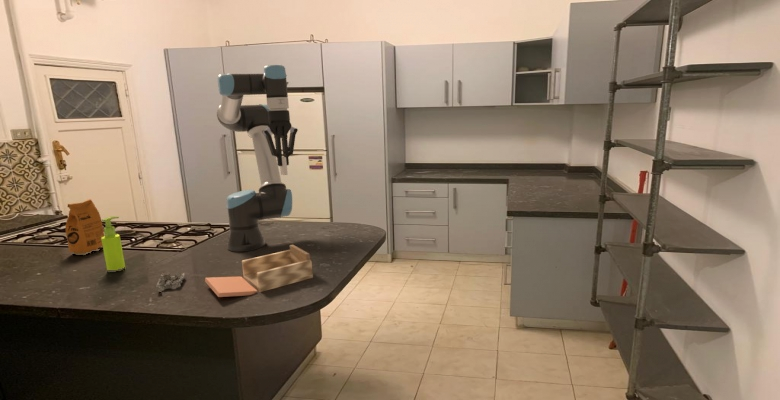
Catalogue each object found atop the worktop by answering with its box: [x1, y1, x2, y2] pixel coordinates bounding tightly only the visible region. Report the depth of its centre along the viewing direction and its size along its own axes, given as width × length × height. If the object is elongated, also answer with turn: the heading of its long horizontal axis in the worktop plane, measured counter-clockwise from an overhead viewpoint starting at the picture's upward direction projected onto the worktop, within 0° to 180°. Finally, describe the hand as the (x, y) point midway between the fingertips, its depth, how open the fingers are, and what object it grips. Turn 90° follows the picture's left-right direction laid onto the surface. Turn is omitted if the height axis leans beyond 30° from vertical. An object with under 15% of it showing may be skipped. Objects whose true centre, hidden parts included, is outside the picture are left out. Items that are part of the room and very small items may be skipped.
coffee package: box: [65, 198, 105, 253], centre depth 190 cm, size 10×12×22 cm
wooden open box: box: [241, 244, 314, 293], centre depth 150 cm, size 18×16×9 cm
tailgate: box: [204, 275, 258, 298], centre depth 141 cm, size 1×16×12 cm
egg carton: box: [156, 272, 185, 292], centre depth 149 cm, size 11×8×4 cm
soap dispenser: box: [101, 216, 126, 271], centre depth 166 cm, size 6×7×20 cm
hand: (284, 174), depth 167 cm, fingers closed
